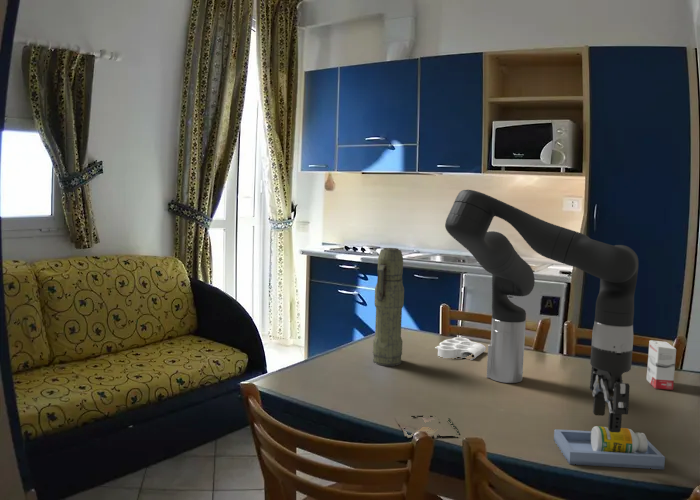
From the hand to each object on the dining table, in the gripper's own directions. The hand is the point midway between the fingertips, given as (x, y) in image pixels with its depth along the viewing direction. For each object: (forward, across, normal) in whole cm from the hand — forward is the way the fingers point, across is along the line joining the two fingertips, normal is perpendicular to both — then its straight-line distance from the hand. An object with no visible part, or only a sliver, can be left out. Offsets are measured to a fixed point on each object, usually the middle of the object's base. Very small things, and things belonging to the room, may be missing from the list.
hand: (606, 422), depth 119 cm
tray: (+7, 0, 0) cm, 7 cm away
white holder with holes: (+7, -72, -21) cm, 75 cm away
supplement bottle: (+3, +1, -3) cm, 4 cm away
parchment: (+7, -9, -35) cm, 37 cm away
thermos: (+7, -58, -44) cm, 74 cm away
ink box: (+7, -48, +32) cm, 58 cm away
